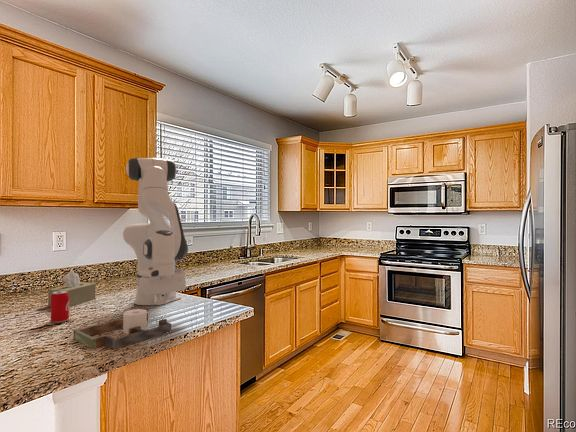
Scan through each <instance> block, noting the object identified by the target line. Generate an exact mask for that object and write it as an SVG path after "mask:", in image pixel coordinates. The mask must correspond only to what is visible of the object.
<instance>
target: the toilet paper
mask: <svg viewBox="0 0 576 432" xmlns="http://www.w3.org/2000/svg"><path fill="white" fill-rule="evenodd" d="M122 313H123V315H122V316H123V317H122V319H123V327H122V331H123V333H124V334H127V335H129V329H130V328H133V327H137V326H141V329H142V330H148V329H147V327H148V326H147V325H148V324H147V323H148V322H147V313H148V311H147V310H146V309H141V308H136V309H130V310H126V311H124V312H122Z"/></svg>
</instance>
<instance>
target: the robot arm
mask: <svg viewBox="0 0 576 432" xmlns="http://www.w3.org/2000/svg"><path fill="white" fill-rule="evenodd" d="M125 172H126V174H127V176H128V178H129V180H132V181H136V182H138V188H137V189H138V191H137V210H138V212H139V214H141V216H143V217H146V218H147V219H148V221H149V223H132V224H128V225H127V226H125V228H124V229H123V231H122V238H123V240H124V242H125V243H126V244H127V245H129V247H130V248H131V249H132V250H133V252H134V253H135V255H136V260H137V274H136V292H135V298H134V301H133V304H135V305H138V306H160V305H161V306H163V305H167V304H168V303H172V302H174V301H177V300H181V298H182V297H181V295H179V294H177V292H179V291H185V289H186V284H187V283H186V275H185V274H186V273H185V272H186V271H185V270H184V269H183V268H176V262H175V260H176V261H182V260H183V259H184V258H185V257H186V256H187V254H188V252H189V246H188V243H187V240H186V237H185V233H184V229H183V225H182V220H181V217H180V211H179V209H178V206H177V204H176V203H175V202H174V201H172V198H171V197H170V195H169V186H168V184H169V183H168V182H172V181H173V180H174V179H176V175H177V172H178V171H177V165H176V163H175V162H174V160H172V159H167V158H165V159H164V158H158V157H140V158H139V157H132V158H129V159H128V160H127V164H126V166H125Z"/></svg>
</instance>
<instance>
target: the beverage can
mask: <svg viewBox="0 0 576 432" xmlns="http://www.w3.org/2000/svg"><path fill="white" fill-rule="evenodd" d="M69 320H70V307H69V294H68V291H55V292H53V293H52V295H51V307H50V322H52V323H55V324H60V323H65V322H67V321H69Z"/></svg>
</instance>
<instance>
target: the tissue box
mask: <svg viewBox="0 0 576 432" xmlns="http://www.w3.org/2000/svg"><path fill="white" fill-rule="evenodd" d="M62 280H63V281H64V282H65V285H61V286H59V287H53V288H50V289H48V292H47V293H48V295H47V296H48V299H47V301H48V307H50V308H51V295H52V293H53V292H55V291H68V294H69V308H70V307H73V306H76V305H80V304H82V303H86V302H89V301H93V300H95V299H96V282H95V283H94V282H85V281H84V282H81V281H80V275H79V274H78V273H76V272H74V270H70V271H69V272H68V273H66V274H65V275H64V276H62Z"/></svg>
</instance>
